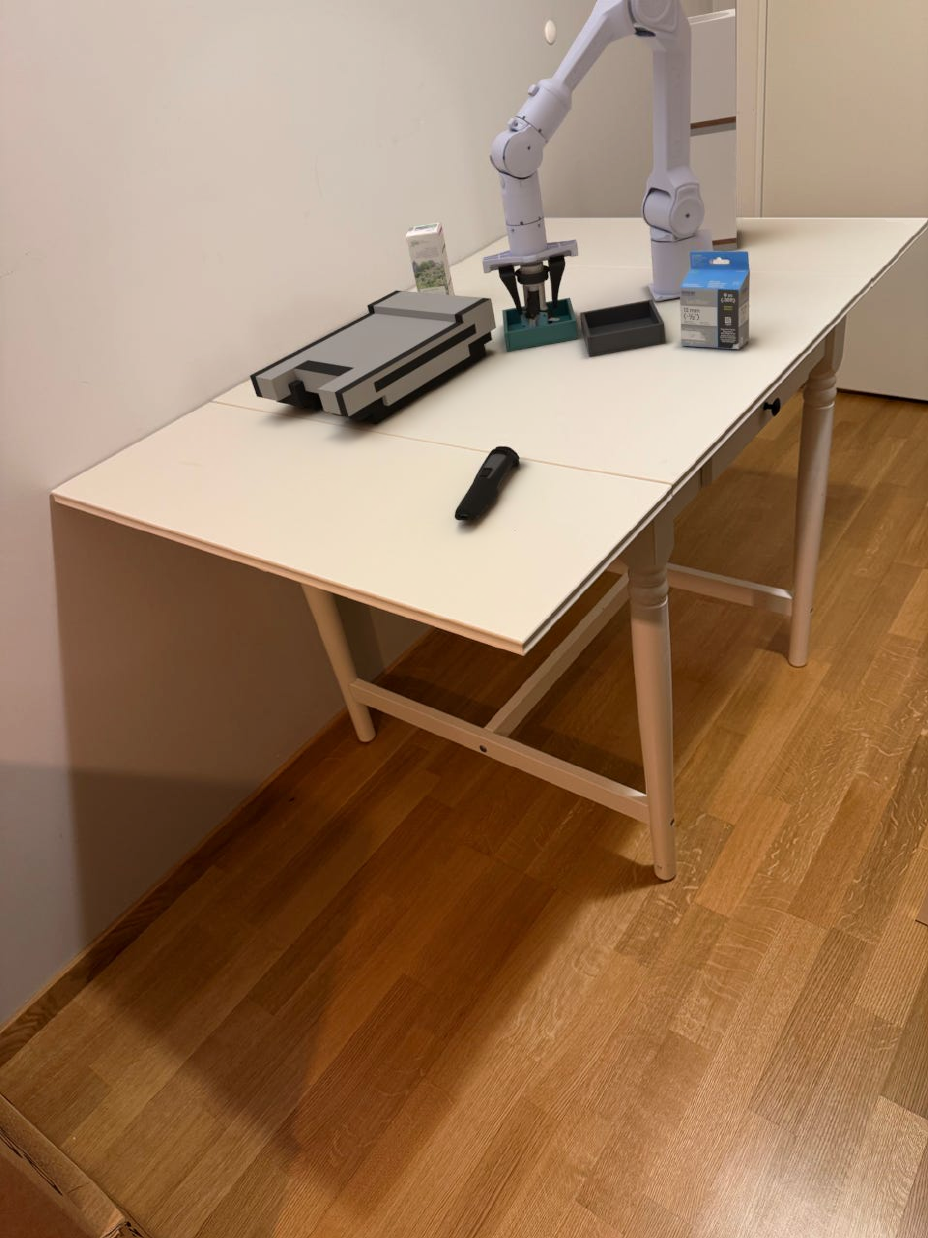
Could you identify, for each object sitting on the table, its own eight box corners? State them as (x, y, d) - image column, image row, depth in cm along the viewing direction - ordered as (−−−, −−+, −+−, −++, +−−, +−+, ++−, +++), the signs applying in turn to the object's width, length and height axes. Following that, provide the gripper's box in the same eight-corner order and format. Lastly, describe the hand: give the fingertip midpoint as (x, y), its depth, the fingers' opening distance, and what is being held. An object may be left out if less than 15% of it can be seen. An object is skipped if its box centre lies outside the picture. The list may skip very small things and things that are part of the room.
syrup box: (457, 303, 165) (441, 220, 156) (453, 314, 160) (437, 229, 152) (426, 308, 166) (409, 225, 157) (422, 319, 161) (404, 235, 153)
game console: (264, 418, 138) (247, 367, 133) (407, 338, 155) (396, 290, 150) (355, 440, 125) (339, 385, 120) (500, 350, 142) (491, 298, 137)
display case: (736, 231, 168) (735, 8, 147) (736, 249, 160) (735, 15, 139) (673, 239, 171) (663, 22, 150) (670, 257, 163) (659, 30, 142)
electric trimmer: (448, 531, 101) (442, 507, 99) (494, 462, 112) (490, 439, 110) (479, 533, 100) (474, 508, 98) (523, 462, 111) (519, 439, 109)
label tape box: (680, 346, 130) (676, 259, 123) (692, 335, 132) (689, 249, 125) (738, 351, 125) (738, 260, 118) (750, 339, 127) (750, 249, 120)
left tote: (572, 314, 149) (570, 297, 147) (578, 338, 140) (576, 320, 138) (504, 327, 150) (502, 309, 148) (507, 351, 141) (504, 333, 140)
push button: (567, 323, 145) (562, 258, 139) (551, 335, 141) (545, 269, 135) (531, 320, 148) (525, 257, 142) (514, 332, 145) (507, 267, 139)
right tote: (653, 317, 141) (652, 299, 139) (665, 342, 132) (664, 323, 130) (581, 330, 142) (579, 312, 141) (589, 356, 133) (587, 337, 132)
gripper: (477, 235, 133) (492, 326, 140) (575, 216, 131) (585, 309, 139) (476, 224, 138) (491, 311, 146) (571, 205, 136) (581, 295, 144)
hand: (537, 309), depth 143 cm, fingers closed on push button, 5 cm apart
